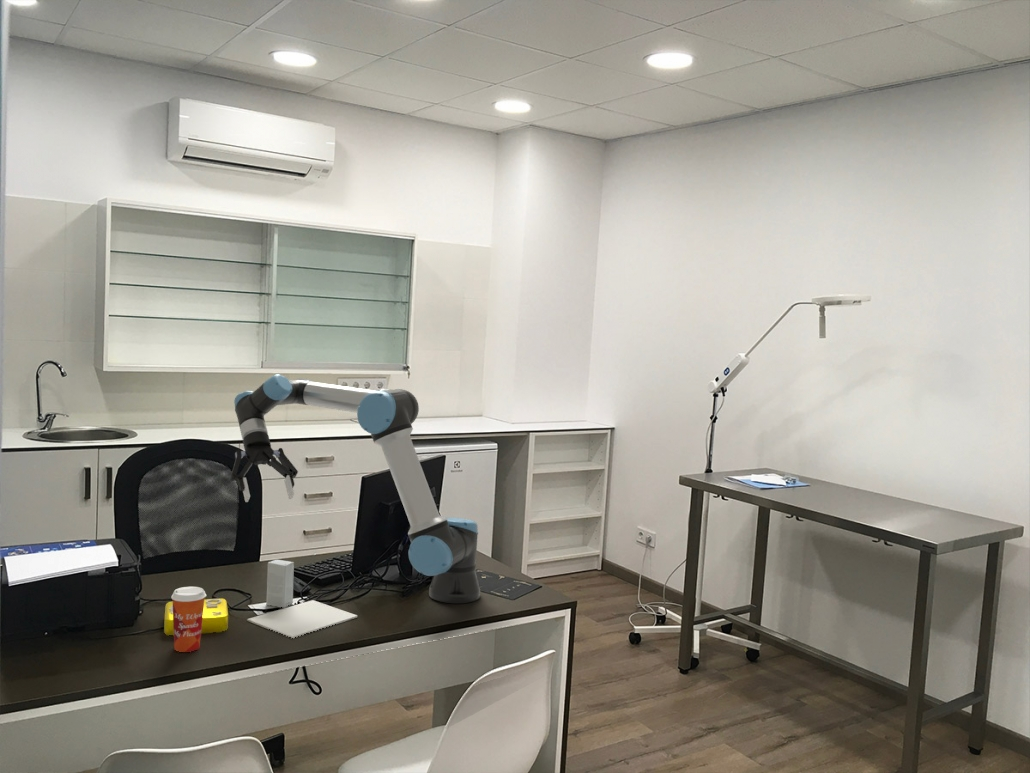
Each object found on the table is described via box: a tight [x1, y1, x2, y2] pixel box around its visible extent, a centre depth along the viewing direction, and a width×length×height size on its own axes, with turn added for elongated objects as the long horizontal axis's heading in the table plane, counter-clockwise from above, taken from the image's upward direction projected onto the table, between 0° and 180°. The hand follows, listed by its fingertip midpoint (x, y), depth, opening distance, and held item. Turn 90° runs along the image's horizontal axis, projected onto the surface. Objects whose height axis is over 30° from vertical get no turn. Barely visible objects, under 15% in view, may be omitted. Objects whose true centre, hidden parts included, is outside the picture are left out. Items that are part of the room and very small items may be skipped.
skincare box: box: [266, 559, 295, 609], centre depth 235 cm, size 6×4×12 cm
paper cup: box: [170, 586, 207, 653], centre depth 201 cm, size 8×8×14 cm
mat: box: [246, 599, 358, 639], centre depth 226 cm, size 18×22×1 cm
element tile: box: [163, 598, 229, 637], centre depth 218 cm, size 15×15×5 cm
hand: (270, 498), depth 243 cm, fingers open, 12 cm apart
